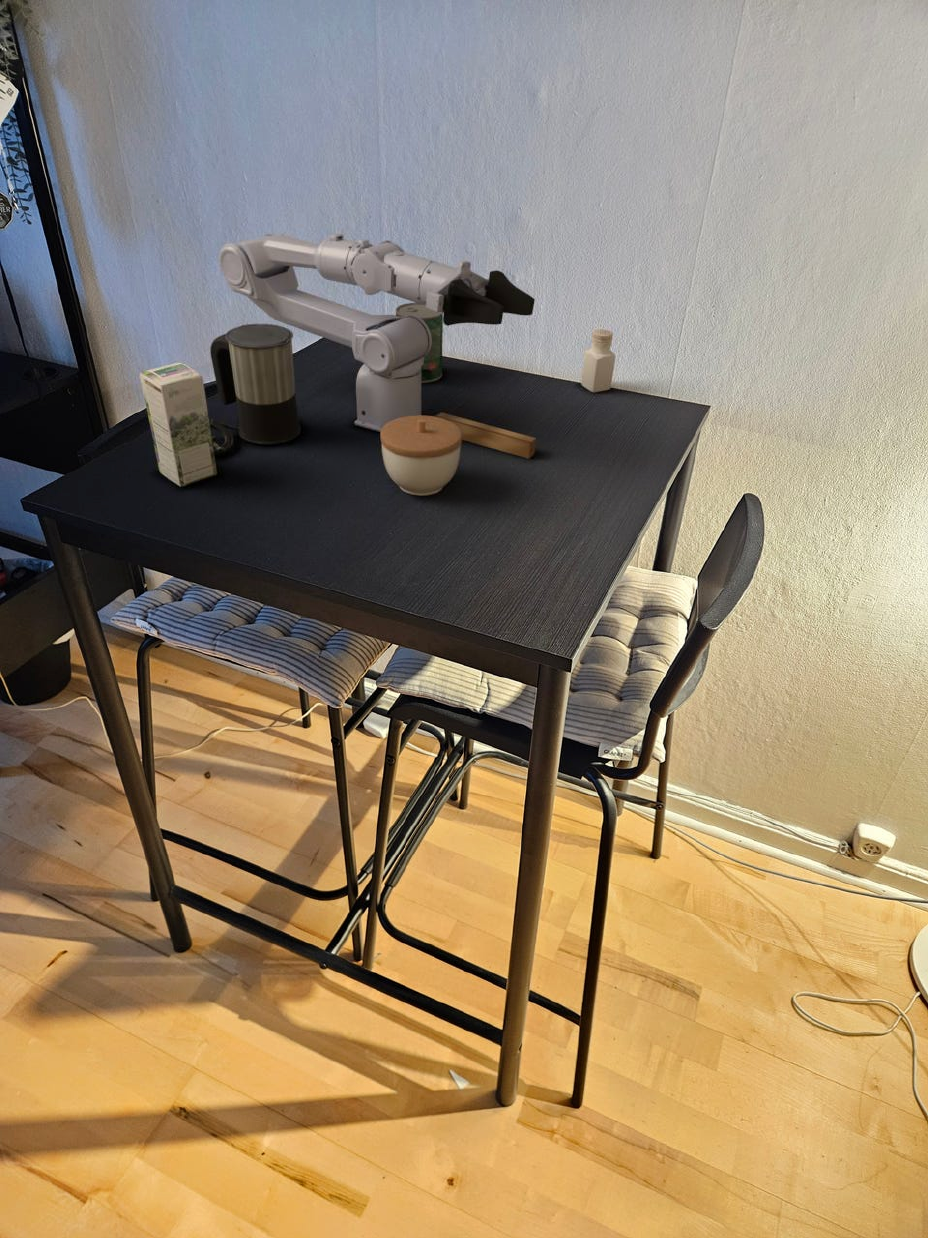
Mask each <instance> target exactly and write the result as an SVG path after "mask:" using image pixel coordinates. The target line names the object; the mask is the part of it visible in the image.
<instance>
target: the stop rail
mask: <svg viewBox="0 0 928 1238" xmlns="http://www.w3.org/2000/svg"><path fill="white" fill-rule="evenodd" d="M434 417H439V418H443V419H446V420H448V421H451V422H453V423H454V424H456V425H457V426H458V427H459V428H460V430H461V432H462V441H464V442H468V443H471V444H476V445H478V446H482V447H486V448H490V449H493V450H497V451H499V452H504V453H506V454H510V455H514V456H516V457H517V456H518V457H521V458H524V459H530V458H531V457H533V456H534V455H535V451H536V440H537V438H536V437H533V436H530V435H525V434H522V433H518V432H515V431H511V430H507V429H503V428H500V427H496V426H493V425H489V424H486V423H482V422H478V421H474V420H471V419H467V418H463V417H460V416H456V415H453V414H449V413H445V412H440V413H438V414H435V415H434Z"/></svg>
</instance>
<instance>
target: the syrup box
mask: <svg viewBox="0 0 928 1238" xmlns="http://www.w3.org/2000/svg"><path fill="white" fill-rule="evenodd" d="M139 378H140V382H141V387H142V392H143V397H144V402H145V407H146V412H147V417H148V422H149V427H150V432H151V436H152V440H153V441H152V442H153V447H154V452H155V456H156V462H157V467H158V471H159V473H160V474H161V475H163V476H164V477H166V478H167V479H168V480H169V481H171V482H172V483H174V484H175V485H177V486H179V487H180V488H182V487H185V486H189V485H191V484H194V483H197V482H200V481H202V480H205V479H208V478H212V477H213V476H216V475H217V474H218V471H217V465H216V458H215V455H214V451H213V444H212V437H213V436H212V432H211V431H212V430H211V428H210V424H209V419H210V418H209V412H208V411H209V410H208V405H207V404H208V403H207V399H206V398H207V397H206V391H205V384H204V378H203V376H202V375H201V374H200V373H199V372H197V371H196V370H194V369H193V368H192V367H190V366H188V365H187V364H185V363H183V362H180V361H178V362H175V363H171V364H167V365H163V366H159V367H155V368H151V369H148V370H144V371H141V372H139Z"/></svg>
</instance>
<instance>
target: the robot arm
mask: <svg viewBox="0 0 928 1238" xmlns="http://www.w3.org/2000/svg"><path fill="white" fill-rule="evenodd" d="M218 257H219V258H218V259H219V260H218V261H219V262H218V263H219V268H220V270H221V271H220V272H221V273H222V276H223V277H224V279H225V280H226V283H227V285H228V286H229V288H230V290H231V292H233V293H237V294H240V295H242V296H245V297H247V298H248V299H249V300H250V301H251V302H252V303H253V304H255V305H256V306H257V307H258V308H259V309H260V310H262V312H263V313H265V314H266V315H267V316H268V317H269V318H271V319H272V320H274V321H277V322H280V323H283V324H284V325H285V324H286V325H288V326H291V327H294V328H296V329H299V330H301V331H302V330H303V331H305V332H307V333H310V334H313V335H315V336H318V337H321V338H324V339H327V340H329V341H332V342H335V343H337V344H341V345H343V346H346V347H349V348H351V349H352V353H353V357H354V359H355V360H356V361H359V362H361V363H362V364H363V365H361V367H359V370H358V372H357V376H356V379H355V395H356V396H355V397H356V416H357V417H356V420H355V421H354V425H355V426H358V427H362V428H365V429H368V430H372V431H375V432H378V433H381V430H382V428H383V427H384V426H385V425H386V424H387V423H388V422H390V421H392V420H395V419H398V418H401V417H406V416H417V415H422V383H421V366H422V365H423V364H424V356H426V355H427V354H428V353H429V351H430V349H431V344H432V338H431V333H430V330H429V328H428V326H427V324H426V323H425V322H424V321H423V320H422V319H421V318H420V317H418V316H415V315H407V316H404V317H399V316H396V314H371V313H368V312H364V311H362V310H359V309H356V308H352V307H349V306H347V305H343V304H341V303H338V302H335V301H333V300H329V299H327V298H323V297H320V296H317V295H315V294H312V293H308V292H306V291H303V290H301V289H298V288H299V282H298V279H297V275H296V272H295V268H304V269H311V270H317V272H318V274H319V275H320V276H321V277H322V278H323V279H325V280H327V281H331V282H336V283H340V284H341V283H342V284H348V285H352V286H356V287H359V288H361V289H362V290H363V291H364V293H365V294H364V295H366V296H373V295H376V294H378V293H380V292H383V293H387V294H390V295H393V296H395V297H398V298H401V299H404V300H407V301H410V302H412V303H419V304H422V305H425V306H426V309H429V310H432V311H435V312H443V325H445V326H448V327H450V326H453V325H458V324H459V325H460V324H482V325H492V326H493V325H497V326H498V325H501V324H503V323H502V322H503V316H504V314H510V315H517V316H532V315H533V311H534V308H535V307H534V306H535V301H536V300H535V298H534V297H532V296H531V295H529V294H528V293H526V292H525V291H523V290H522V289H521V288H519V287H518V286H516V285H515V284H513V283H512V282H511V281H510V280H509V278H508V277H507V276H506V275H505V273H504V272H502V271H500V270H497V269H496V270H491V271H489V274H488V275H489V276H488V278H485V277H483V276H482V275H479V274H477V273H476V272H474V271H472V270H471V262H470V261H468V260H461V261H459V262H458V264H457V267H454V266H451V265H448V264H445V263H441V262H438V261H435V260H432V259H428V258H425V257H421V256H419V255H415V254H412V253H407V252H405V250H404V249H403V248H402V247H401V246H400V245H399V243H396V242H394V241H391V240H389V239H386V240H384V241H381V242H379V243H378V244H376V245H374V244H372V243H370V240H369V239H365V238H362V239H359V240H357V241H356V240H350V239H344V234H342V233H334V234H331V235H329V237H326V238H325V239H323V240H322V241H321V242H320V243H316V242H312V241H309V240H308V241H307V240H303V239H301V238H300V239H299V238H295V237H292V236H286V235H285V234H284V233H271V232H268V233H266V234H264V235H262V236H257V237H254V238H250V239H246V240H242V241H239V242H238V241H237V242H235V243H234V242H233V243H226V244H224V245H223V246H222V247H221V249H220V250H219V256H218ZM294 267H295V268H294ZM422 416H424V415H422Z"/></svg>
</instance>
